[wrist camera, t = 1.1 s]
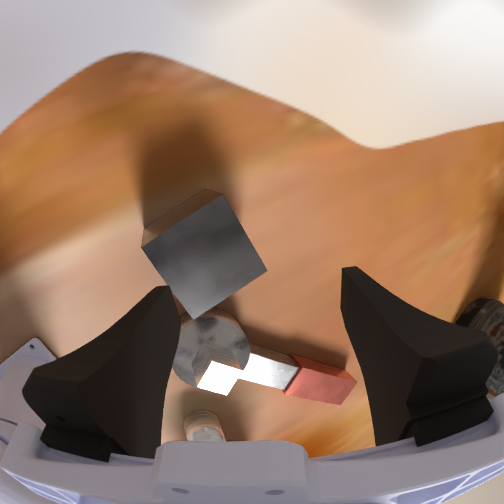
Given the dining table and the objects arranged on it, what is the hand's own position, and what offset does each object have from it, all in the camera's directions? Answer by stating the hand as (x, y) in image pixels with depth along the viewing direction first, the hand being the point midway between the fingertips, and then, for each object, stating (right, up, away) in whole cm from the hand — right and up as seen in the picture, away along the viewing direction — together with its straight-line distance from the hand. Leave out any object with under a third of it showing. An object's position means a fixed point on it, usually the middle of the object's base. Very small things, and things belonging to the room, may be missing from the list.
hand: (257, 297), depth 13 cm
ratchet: (+1, -9, +15) cm, 18 cm away
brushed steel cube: (-5, +3, +10) cm, 12 cm away
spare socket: (-5, -15, +15) cm, 22 cm away
